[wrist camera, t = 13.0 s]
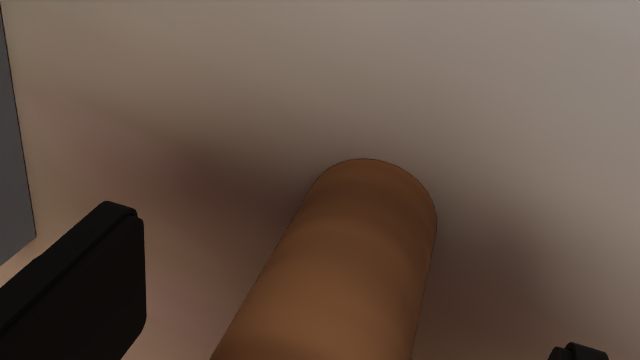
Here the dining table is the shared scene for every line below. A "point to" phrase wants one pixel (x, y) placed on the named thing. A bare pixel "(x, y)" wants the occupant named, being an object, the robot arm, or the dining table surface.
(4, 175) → the hole block
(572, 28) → the dining table surface
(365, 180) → the dowel
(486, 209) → the dining table surface
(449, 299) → the dining table surface
